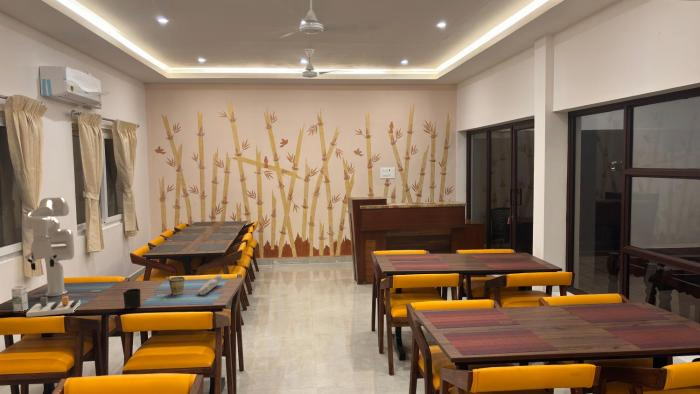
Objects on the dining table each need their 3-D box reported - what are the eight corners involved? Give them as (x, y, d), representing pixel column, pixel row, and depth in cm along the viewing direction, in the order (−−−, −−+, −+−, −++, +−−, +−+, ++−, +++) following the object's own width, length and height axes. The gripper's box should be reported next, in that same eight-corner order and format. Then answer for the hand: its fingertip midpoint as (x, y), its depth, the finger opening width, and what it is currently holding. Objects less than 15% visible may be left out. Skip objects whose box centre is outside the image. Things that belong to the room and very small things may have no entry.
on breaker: (42, 304, 301) (41, 297, 300) (47, 304, 301) (47, 296, 301) (40, 305, 298) (40, 298, 298) (46, 305, 299) (46, 297, 299)
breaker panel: (36, 307, 304) (36, 303, 304) (80, 303, 311) (80, 299, 311) (26, 317, 287) (26, 312, 287) (73, 312, 294) (73, 308, 293)
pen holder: (121, 307, 302) (120, 290, 302) (137, 303, 309) (136, 287, 308) (127, 310, 296) (126, 293, 295) (143, 307, 302) (142, 290, 301)
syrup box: (28, 309, 301) (27, 285, 300) (22, 312, 296) (20, 288, 294) (19, 309, 301) (17, 285, 300) (12, 312, 295) (10, 288, 294)
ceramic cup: (180, 295, 325) (179, 280, 324) (166, 295, 327) (165, 280, 326) (190, 290, 338) (189, 275, 337) (176, 289, 340) (176, 275, 339)
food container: (225, 279, 352) (221, 272, 352) (211, 294, 323) (206, 286, 322) (211, 286, 354) (207, 279, 353) (195, 301, 324) (191, 294, 323)
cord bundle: (57, 302, 305) (57, 299, 305) (79, 300, 309) (79, 297, 308) (50, 310, 291) (50, 306, 291) (73, 308, 294) (73, 304, 294)
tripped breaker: (63, 303, 301) (62, 296, 301) (68, 303, 302) (68, 296, 301) (62, 305, 299) (61, 297, 298) (67, 304, 300) (67, 297, 299)
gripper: (54, 236, 300) (55, 265, 301) (21, 240, 286) (23, 270, 287) (59, 237, 296) (61, 266, 297) (27, 241, 282) (29, 271, 283)
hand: (43, 268), depth 292 cm, fingers open, 9 cm apart
